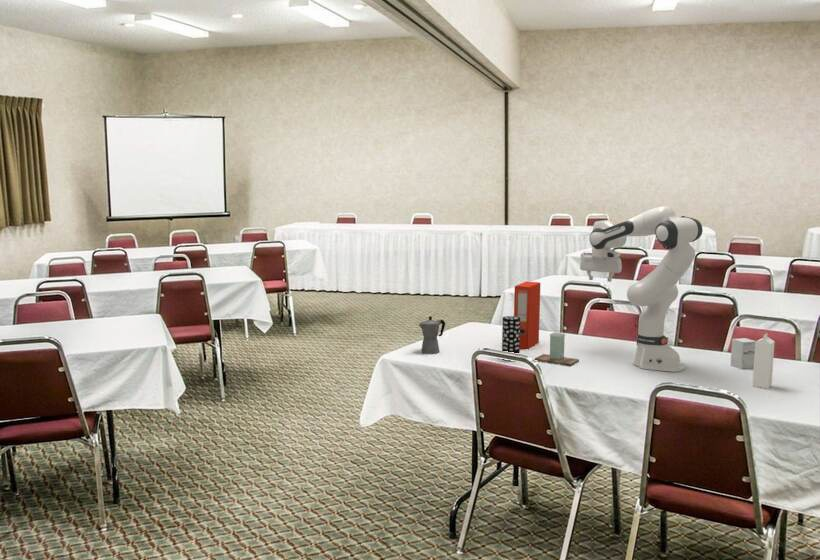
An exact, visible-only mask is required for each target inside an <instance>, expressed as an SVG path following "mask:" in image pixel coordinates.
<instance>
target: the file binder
mask: <svg viewBox="0 0 820 560" xmlns="http://www.w3.org/2000/svg"><path fill="white" fill-rule="evenodd" d="M513 297H514V299H513V300H514V303H513V308H514V309H513V316H516V317H520V350H524V349H528V350H529V348H530V349H531V348H533V347H534V346H536V345H538V344H539V343H540V316H541V315H540V313H541V312H540V311H541V310H540V309H541V306H540V305H541V282H537V281H524V282H522V283H519V284H517V285H514V296H513ZM535 344H536V345H535ZM532 346H533V347H532Z"/></svg>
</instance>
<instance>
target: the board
mask: <svg viewBox="0 0 820 560" xmlns="http://www.w3.org/2000/svg"><path fill="white" fill-rule="evenodd" d="M535 360H538V361H537V362H539V361H541V363H545V362H547V364H552V363H554V364H553V365H558V364H560V366H565V365H566V366H565V367H573V366H575V365H576V364H578V363H579V362H580V360H579V359H578V358H571V357H568V356H567V357H566V356H564V359H562V360H560V361H558V360H552V359H550V354H545V353H543V354H541V355H538V356H537V357H535V358H534V361H535ZM577 362H578V363H577ZM575 363H576V364H575Z"/></svg>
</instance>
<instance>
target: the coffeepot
mask: <svg viewBox="0 0 820 560" xmlns="http://www.w3.org/2000/svg"><path fill="white" fill-rule="evenodd" d="M432 319H433V316H428V320H427V319H426V320H423V321H421V322H420V323H419V324H418V326H419V327H420V328H421V331H422V336H423V339H422V343H421V345H422V346H421V350H420V351H421V353H422V354H425V355H435V354H439V353H440V346H439V341H438V337H442V336H443V333H444V330H445V328H446V321H444V320H443V319H438V320H437V319H436V320H432ZM440 325H441V327H440ZM440 328H441V329H440ZM439 330H440V333H439Z"/></svg>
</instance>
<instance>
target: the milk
mask: <svg viewBox="0 0 820 560" xmlns="http://www.w3.org/2000/svg"><path fill="white" fill-rule="evenodd" d="M755 341H756V342H755V355H754V368H753V373H752V387H754V386H755V388H760V387H761V389H766V388H768V389H770V388H771V387H772V386H771V385H772V383H773V372H774V370H773V369H774V358H775V357H774V355H775V342H776V341H775V340H773V339H771V337H769V336H768V333H767V332H766V333H765V334H764V335H763V337H762V338H760V339H758V340H755ZM770 386H771V387H770Z"/></svg>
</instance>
